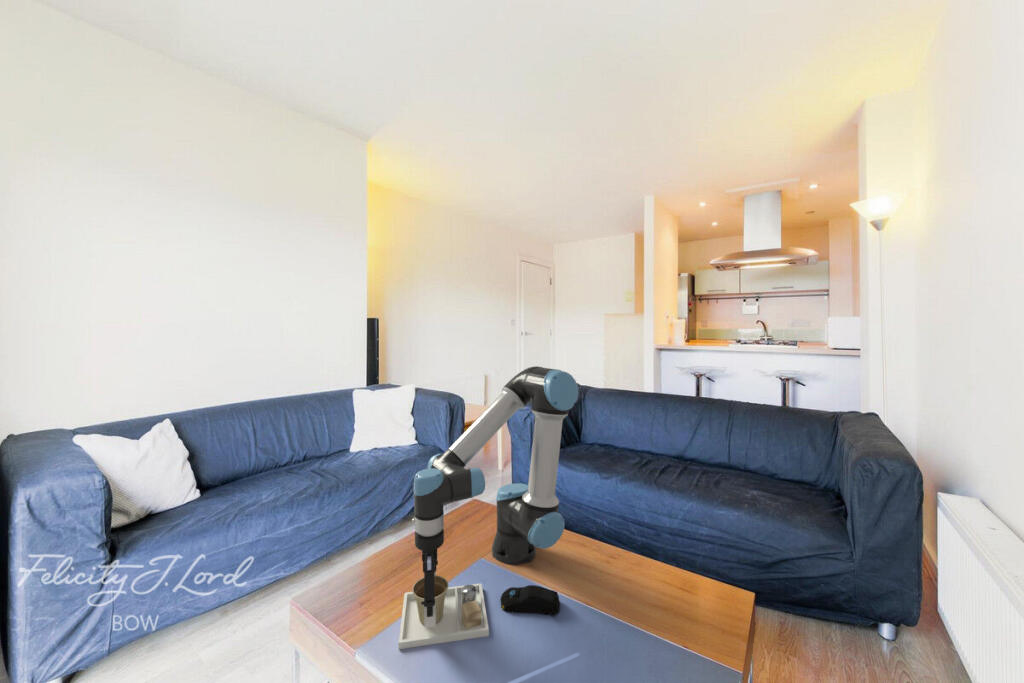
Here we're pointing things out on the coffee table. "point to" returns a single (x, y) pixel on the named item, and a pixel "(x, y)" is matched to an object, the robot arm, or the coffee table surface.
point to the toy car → (530, 600)
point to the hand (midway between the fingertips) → (430, 606)
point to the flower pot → (440, 593)
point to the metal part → (468, 594)
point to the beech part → (471, 614)
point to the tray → (447, 627)
